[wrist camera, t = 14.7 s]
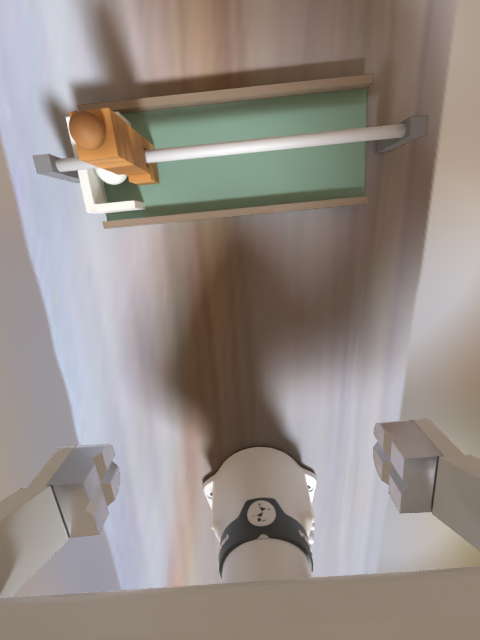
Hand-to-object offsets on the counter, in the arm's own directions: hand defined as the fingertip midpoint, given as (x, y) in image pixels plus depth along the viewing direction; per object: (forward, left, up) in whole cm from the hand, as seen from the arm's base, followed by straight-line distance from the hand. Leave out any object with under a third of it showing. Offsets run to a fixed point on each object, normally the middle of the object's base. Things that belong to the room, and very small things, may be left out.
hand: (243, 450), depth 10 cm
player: (+14, +10, -32) cm, 37 cm away
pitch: (+14, 0, -34) cm, 37 cm away
